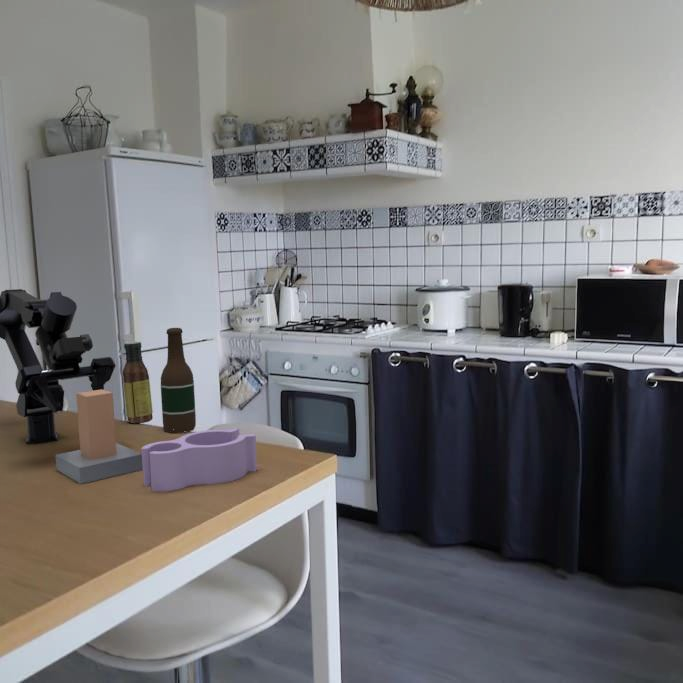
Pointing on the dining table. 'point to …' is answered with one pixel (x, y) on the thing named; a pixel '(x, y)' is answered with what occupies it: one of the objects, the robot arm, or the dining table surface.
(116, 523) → the dining table surface
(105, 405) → the tan block
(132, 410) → the sauce bottle
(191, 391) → the beer bottle
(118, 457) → the plate
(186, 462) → the clip
